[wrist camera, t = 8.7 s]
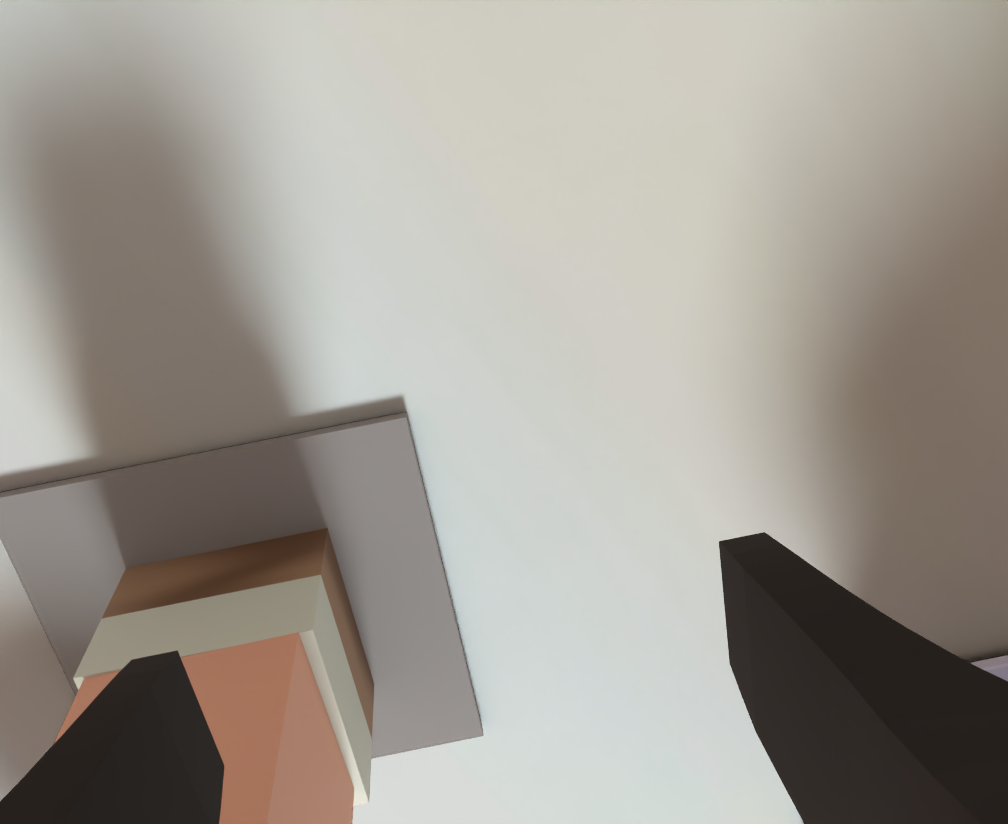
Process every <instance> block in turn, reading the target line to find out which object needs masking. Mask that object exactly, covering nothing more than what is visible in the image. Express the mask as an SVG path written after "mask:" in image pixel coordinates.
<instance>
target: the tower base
mask: <svg viewBox="0 0 1008 824" xmlns="http://www.w3.org/2000/svg"><path fill="white" fill-rule="evenodd" d="M317 575H321V577H322V580H323V583H324V587H325V590H326V593H327V596H328V599H329V603H330V606H331V609H332V612H333V616H334V619H335V622H336V625H337V628H338V632H339V635H340V638H341V641H342V645H343V648H344V651H345V654H346V657H347V661H348V664H349V667H350V670H351V674H352V677H353V680H354V683H355V686H356V690H357V693H358V696H359V699H360V703H361V706H362V709H363V712H364V715H365V719H366V722H367V725H368V728H369V732H370V735H371V738H372V727H373V705H374V682H373V678H372V675H371V672H370V668H369V665H368V662H367V658H366V655H365V652H364V648H363V645H362V642H361V638H360V635H359V632H358V628H357V625H356V622H355V618H354V615H353V612H352V608H351V605H350V602H349V598H348V595H347V592H346V588H345V585H344V581H343V578H342V575H341V571H340V568H339V565H338V561H337V558H336V555H335V551H334V548H333V545H332V541H331V538H330V535H329V531H328V528H325V529H320V530H315V531H310V532H305V533H300V534H295V535H290V536H285V537H280V538H275V539H270V540H265V541H260V542H255V543H250V544H245V545H240V546H235V547H230V548H225V549H220V550H215V551H210V552H205V553H200V554H195V555H190V556H185V557H180V558H175V559H170V560H165V561H160V562H155V563H150V564H145V565H140V566H135V567H130V568H126V569H125V571H124V573H123V575H122V577H121V579H120V581H119V583H118V586H117V588H116V590H115V592H114V594H113V596H112V598H111V600H110V602H109V604H108V606H107V608H106V611H105V613H104V615H103V617H102V618H107V617H112V616H117V615H122V614H127V613H132V612H137V611H142V610H147V609H152V608H157V607H162V606H167V605H172V604H177V603H182V602H187V601H192V600H197V599H202V598H207V597H212V596H217V595H222V594H227V593H232V592H237V591H242V590H247V589H252V588H257V587H262V586H267V585H272V584H277V583H282V582H287V581H292V580H297V579H302V578H307V577H312V576H317Z"/></svg>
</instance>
